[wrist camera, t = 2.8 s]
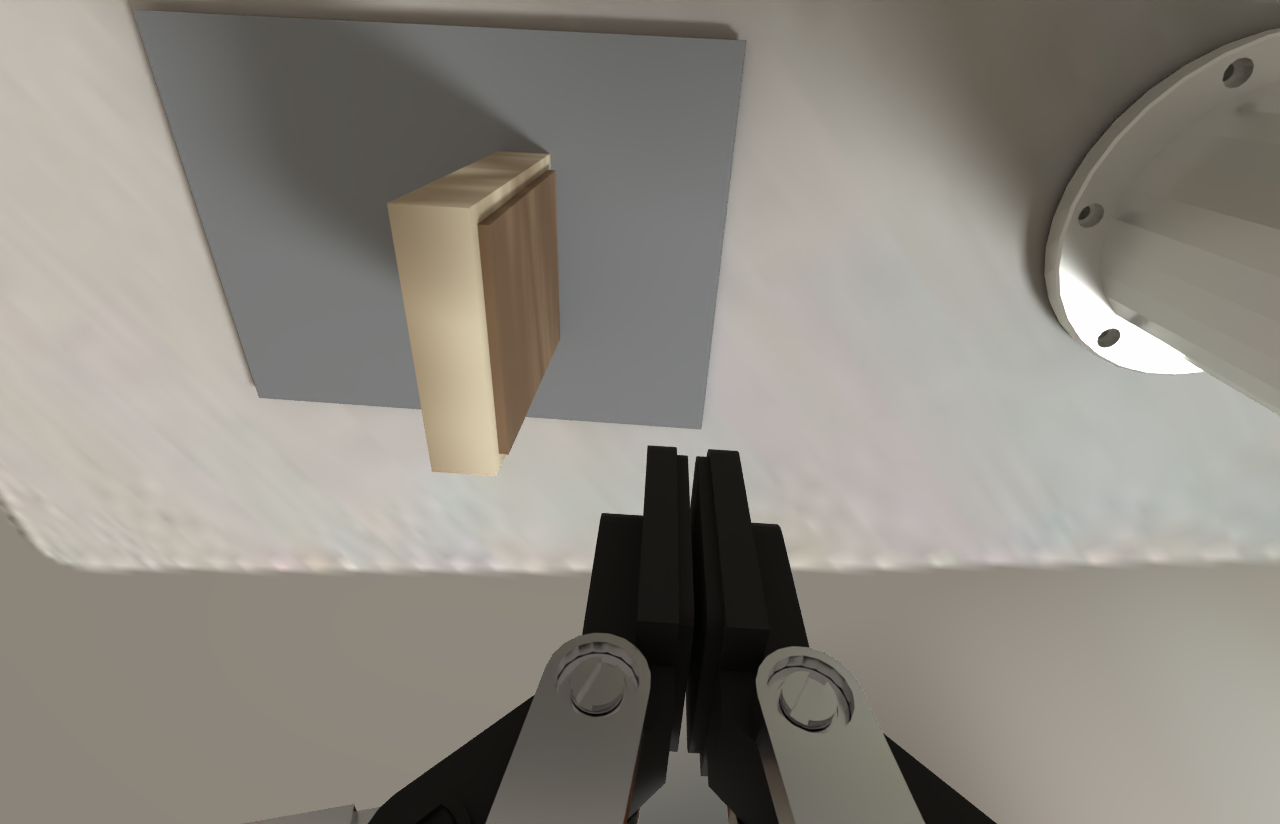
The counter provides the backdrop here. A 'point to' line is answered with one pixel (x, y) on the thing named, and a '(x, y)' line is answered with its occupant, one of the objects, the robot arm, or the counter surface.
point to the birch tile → (479, 302)
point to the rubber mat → (432, 148)
